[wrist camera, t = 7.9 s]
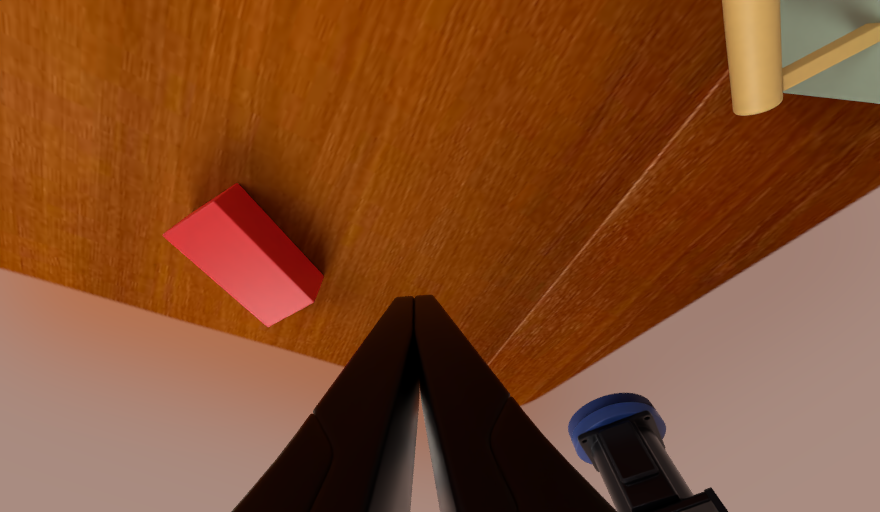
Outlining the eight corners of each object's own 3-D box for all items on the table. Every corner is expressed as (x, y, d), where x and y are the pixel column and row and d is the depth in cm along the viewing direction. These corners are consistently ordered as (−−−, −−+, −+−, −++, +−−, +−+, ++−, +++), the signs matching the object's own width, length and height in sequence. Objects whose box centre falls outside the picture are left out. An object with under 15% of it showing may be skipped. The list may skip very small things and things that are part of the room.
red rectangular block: (324, 276, 21) (314, 302, 19) (281, 299, 22) (267, 327, 20) (237, 182, 18) (213, 200, 16) (190, 213, 19) (161, 235, 17)
